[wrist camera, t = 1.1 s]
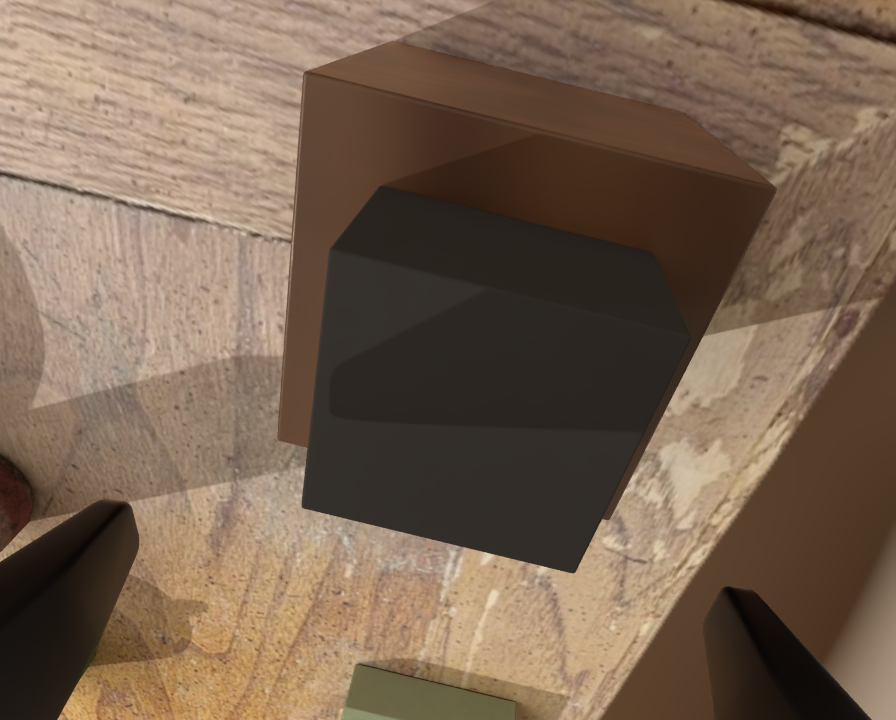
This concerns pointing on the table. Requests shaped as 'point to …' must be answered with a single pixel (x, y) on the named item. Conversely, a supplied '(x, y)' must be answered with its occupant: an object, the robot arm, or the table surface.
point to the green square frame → (417, 699)
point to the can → (13, 502)
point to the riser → (509, 183)
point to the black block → (484, 377)
